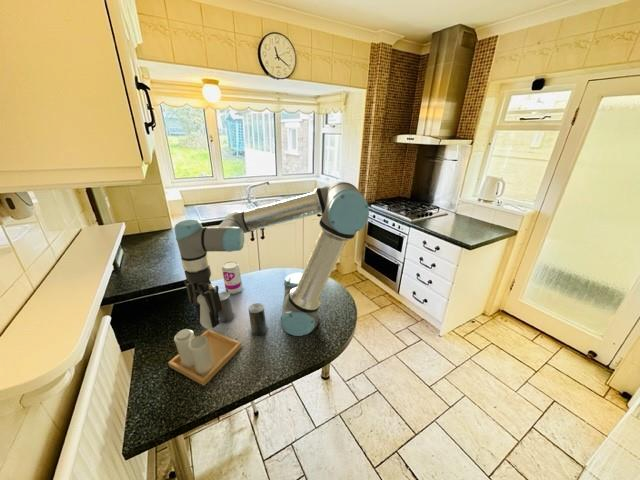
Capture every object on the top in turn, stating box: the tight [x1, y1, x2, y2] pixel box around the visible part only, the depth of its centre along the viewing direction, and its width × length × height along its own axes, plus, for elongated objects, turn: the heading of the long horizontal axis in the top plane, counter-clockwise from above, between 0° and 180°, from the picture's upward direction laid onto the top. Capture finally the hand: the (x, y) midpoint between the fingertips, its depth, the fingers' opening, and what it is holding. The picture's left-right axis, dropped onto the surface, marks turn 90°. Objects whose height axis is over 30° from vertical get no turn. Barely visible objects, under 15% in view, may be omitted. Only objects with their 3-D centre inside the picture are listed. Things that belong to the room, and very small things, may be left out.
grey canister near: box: [248, 302, 267, 337], centre depth 104 cm, size 6×6×12 cm
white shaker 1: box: [173, 328, 196, 368], centre depth 90 cm, size 6×6×13 cm
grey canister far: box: [218, 291, 234, 324], centre depth 111 cm, size 6×6×12 cm
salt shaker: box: [197, 294, 213, 330], centre depth 90 cm, size 6×6×13 cm
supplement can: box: [221, 261, 243, 295], centre depth 130 cm, size 8×8×15 cm
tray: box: [167, 328, 242, 387], centre depth 94 cm, size 17×18×3 cm
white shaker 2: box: [189, 335, 214, 376], centre depth 87 cm, size 6×6×13 cm
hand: (209, 322), depth 92 cm, fingers closed on salt shaker, 6 cm apart
